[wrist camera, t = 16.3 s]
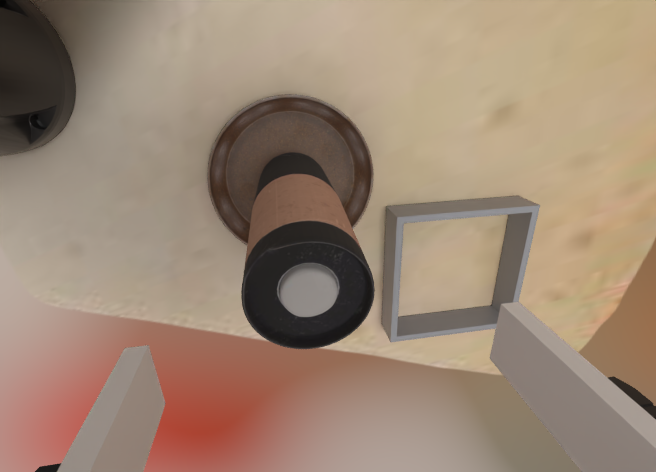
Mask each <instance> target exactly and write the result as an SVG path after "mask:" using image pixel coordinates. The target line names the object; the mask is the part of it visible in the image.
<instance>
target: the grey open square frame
mask: <svg viewBox="0 0 656 472" xmlns="http://www.w3.org/2000/svg"><path fill="white" fill-rule="evenodd" d="M539 207H540V205H538V204H536V203H534V202H531V201H529V200H527V199H524V198H522V197H520V196H508V197H495V198H483V199H470V200H457V201H445V202H432V203H420V204H407V205H394V206H386V225H385V251H384V276H383V302H382V325H383V327H384V330H385V332H386V334H387V336H388V338H389V340H390V342H396V341H404V340H411V339H419V338H426V337H434V336H442V335H449V334H457V333H464V332H472V331H480V330H487V329H495V328H496V326H497V321H498V316H499V311H500V307H501V304H505V303H513V302H518V301H519V297H520V292H521V288H522V283H523V279H524V274H525V270H526V265H527V261H528V257H529V252H530V248H531V243H532V239H533V234H534V230H535V225H536V221H537V216H538V212H539ZM506 214H509V217H508V222H507V227H506V232H505V238H504V243H503V248H502V254H501V259H500V264H499V269H498V275H497V280H496V285H495V291H494V296H493V301H492V305H491V306H483V307H475V308H467V309H459V310H451V311H442V312H434V313H426V314H418V315H410V316H402V317H398V307H399V290H400V274H401V258H402V242H403V225H404V223H413V222H425V221H436V220H448V219H459V218H471V217H482V216H494V215H506Z"/></svg>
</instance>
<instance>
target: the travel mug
mask: <svg viewBox="0 0 656 472" xmlns="http://www.w3.org/2000/svg"><path fill="white" fill-rule="evenodd" d="M373 299H374V281H373V277H372V273H371V271H370V268H369V266H368V263H367V261H366V259H365V257H364V254H363V252H362V250H361V247H360V245H359V243H358V241H357V238H356V236H355V234H354V231H353V229H352V227H351V224H350V222H349V220H348V217H347V215H346V213H345V211H344V208H343V206H342V204H341V201H340V199H339V197H338V195H337V193H336V192H335V190H334V188H333V186H332V185H331V183H330V181H329V179H328V177H327V176H326V174H325V172H324V171H323V169H322V167H321V166H320V165H319V164H318V163H317V162H316V161H315V160H314V159H313V158H311V157H309V156H307V155H305V154H302V153H296V152H290V153H284V154H281V155H279V156H276V157H275V158H273V159H272V160H271V161H269V163H268V164H267V165H266V166H265V167H264V169H263V171H262V173H261V176H260V179H259V183H258V187H257V191H256V196H255V200H254V204H253V209H252V215H251V223H250V230H249V238H248V246H247V254H246V262H245V270H244V277H243V283H242V306H243V310H244V313H245V316H246V318H247V320H248V321H249V323H250V324H251V326H252V327H253V328H254V329H255V330H256V332H257V333H259V334H260V335H261V336H262V337H264V338H265V339H267V340H269V341H271V342H273V343H275V344H278V345H280V346H283V347H288V348H295V349H313V348H319V347H324V346H327V345H330V344H333V343H335V342H338V341H340V340H341V339H343V338H345V337H347V336H348V335H350V334H351V333H352V332H353V331H355V330H356V329H357V328H358V327H359V326H360V325H361V324H362V322H363V321H364V320H365V318H366V317H367V315H368V313H369V311H370V309H371V306H372V303H373Z"/></svg>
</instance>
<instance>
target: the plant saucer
mask: <svg viewBox="0 0 656 472" xmlns="http://www.w3.org/2000/svg"><path fill="white" fill-rule="evenodd" d="M290 152H296V153H302V154H305V155H307V156H309V157H311V158H313V159H314V160H315V161H316V162H317V163H318V164H319V165H320V166H321V167H322V169H323V171H324V172H325V174H326V176H327V177H328V179H329V181H330V183H331V185H332V186H333V188H334V190H335V192H336V193H337V195H338V197H339V199H340V201H341V204H342V206H343V208H344V211H345V213H346V215H347V217H348V220H349V222H350V224H351V227H352V229H353V228H354V227H355V226H356V225H357V223H358V222H359V220H360V219H361V217H362V216H363V214H364V212H365V210H366V208H367V205H368V203H369V200H370V196H371V192H372V187H373V165H372V159H371V155H370V151H369V148H368V146H367V143H366V141H365V139H364V137H363V136H362V134H361V132H360V131H359V129H358V128H357V127H356V125H355V124H354V123H353V122H352V121H351V120H350V119H349V118H348V117H347V116H346V115H345V114H344V113H342V112H341V111H340V110H338V109H337V108H335V107H334V106H332V105H330V104H328V103H326V102H324V101H321V100H319V99H316V98H312V97H308V96H303V95H291V94H289V95H278V96H272V97H268V98H265V99H262V100H259V101H257V102H255V103H253V104H251V105H249V106H247V107H245V108H244V109H242V110H241V111H240V112H238V113H237V114H236V115H235V116H234V117H232V118H231V119H230V120H229V122H228V123H227V124H226V125H225V126H224V128H223V129H222V130H221V132H220V133H219V135H218V137H217V139H216V141H215V143H214V145H213V148H212V151H211V154H210V158H209V163H208V188H209V193H210V197H211V201H212V203H213V206H214V208H215V211H216V213H217V215H218V216H219V218H220V219H221V221H222V222H223V224H224V225H225V226H226V228H227V229H228V230H229V231H230V232H231V233H232V234H233V235H234V236H235V237H236V238H237V239H239V240H240V241H242V242H243V243H244V244H246V245H248V238H249V230H250V223H251V215H252V209H253V204H254V200H255V196H256V191H257V187H258V183H259V179H260V176H261V173H262V171H263V169H264V167H265V166H266V165H267V164H268V163H269V161H271V160H272V159H273V158H275V157H276V156H279V155H281V154H284V153H290Z"/></svg>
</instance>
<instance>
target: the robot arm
mask: <svg viewBox="0 0 656 472" xmlns="http://www.w3.org/2000/svg"><path fill="white" fill-rule="evenodd" d="M74 100H75V79H74V73H73V69H72V65H71V62H70V59H69V56H68V53H67V51H66V49H65V47H64V45H63V43H62V41H61V39H60V37H59V36H58V34H57V33H56V31H55V29H54V28H53V27H52V25H51V24H50V23H49V21H48V20H47V19H46V18H45V16H44V15H43V14H42V13H41V12H40V11H39V10H38V9H37V8H36V7H35V6H34V5H33V4H32V3H31V2H30V1H29V0H0V156H3V155H11V154H16V153H20V152H24V151H28V150H31V149H34V148H37V147H40V146H42V145H44V144H46V143H47V142H49V141H50V140H52V139H53V138H54V137H56V136H57V135H58V134H59V133H60V132H61V130H62V129H63V128H64V126H65V125H66V123H67V122H68V120H69V118H70V115H71V113H72V110H73V106H74ZM490 359H491V361H492V362H493V363H494V364H495V366H496V367H497V368H498V369H499V370H500V372H501V373H502V374H503V375H504V377H505V378H506V379H507V380H508V381H509V383H510V384H511V385H512V386H513V388H514V389H515V390H516V391H517V393H518V394H519V395H520V396H521V397H522V399H523V400H524V401H525V402H526V404H527V405H528V406H529V407H530V409H531V410H532V411H533V412H534V413H535V415H536V416H537V417H538V418H539V420H540V421H541V422H542V423H543V425H544V426H545V427H546V428H547V429H548V431H549V432H550V433H551V434H552V436H553V437H554V438H555V439H556V440H557V442H558V443H559V444H560V445H561V447H562V448H563V449H564V450H565V452H566V453H567V454H568V455H569V457H570V458H571V459H572V460H573V461H574V463H575V464H576V465H577V466H578V468H579V469H580V470H581V471H582V472H656V406H654V405H653V403H652V402H651V401H650V400H648V399H647V398H646V397H645V396H643V395H642V394H641V393H640V392H639V391H638V390H636V389H635V388H633V387H632V386H630V385H628V384H626V383H624V382H623V381H621V380H619V379H617V378H615V377H609V378H607V377H606V376H604V375H603V374H602V373H601V372H600V371H599V370H598V369H596V368H595V367H594V366H593V365H592V364H590V363H589V362H588V361H587V360H586V359H585V358H584V357H582V356H581V355H580V354H579V353H578V352H577V351H575V350H574V349H573V348H572V347H571V346H570V345H568V344H567V343H566V342H565V341H564V340H563V339H562V338H560V337H559V336H558V335H557V334H556V333H555V332H553V331H552V330H551V329H550V328H549V327H548V326H546V325H545V324H544V323H543V322H542V321H541V320H539V319H538V318H537V317H536V316H535V315H534V314H532V313H531V312H530V311H529V310H528V309H527V308H525V307H524V306H523V305H522V304H521V303H520V302H513V303H505V304H501V307H500V311H499V316H498V321H497V326H496V330H495V335H494V340H493V345H492V350H491V354H490ZM164 406H165V400H164V397H163V394H162V390H161V387H160V383H159V380H158V376H157V373H156V369H155V366H154V362H153V359H152V355H151V352H150V348H149V345H147V346H138V347H130V348H125V349H124V351H123V353H122V354H121V356H120V358H119V360H118V361H117V363H116V365H115V367H114V369H113V371H112V373H111V374H110V376H109V378H108V380H107V381H106V383H105V385H104V387H103V389H102V391H101V392H100V394H99V396H98V398H97V400H96V402H95V403H94V405H93V407H92V409H91V411H90V413H89V414H88V416H87V418H86V420H85V422H84V423H83V425H82V427H81V429H80V431H79V432H78V434H77V436H76V438H75V440H74V441H73V444H72V445H71V447H70V449H69V451H68V452H67V454H66V456H65V458H64V460H63V462H62V463H61V464H55V465H48V466H42V467H39V468H38V469H37V470H36V471H35V472H143V471H144V468H145V464H146V462H147V459H148V455H149V452H150V449H151V446H152V443H153V440H154V437H155V434H156V431H157V428H158V425H159V422H160V418H161V415H162V412H163V409H164Z"/></svg>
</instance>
